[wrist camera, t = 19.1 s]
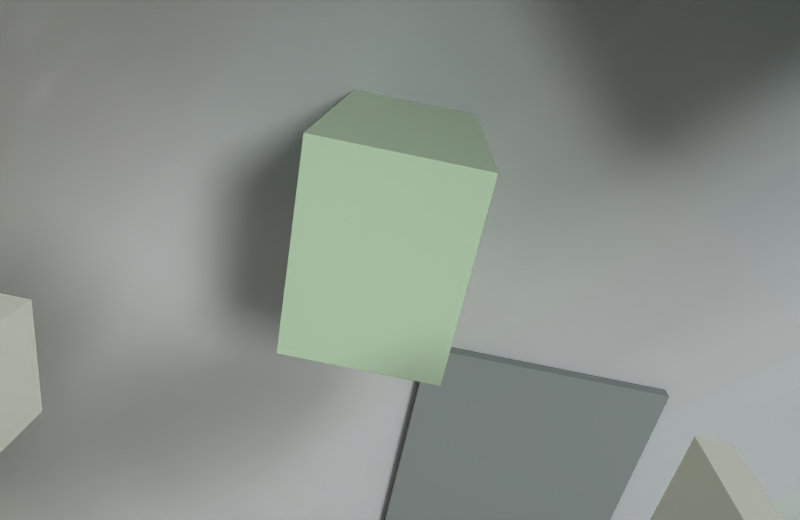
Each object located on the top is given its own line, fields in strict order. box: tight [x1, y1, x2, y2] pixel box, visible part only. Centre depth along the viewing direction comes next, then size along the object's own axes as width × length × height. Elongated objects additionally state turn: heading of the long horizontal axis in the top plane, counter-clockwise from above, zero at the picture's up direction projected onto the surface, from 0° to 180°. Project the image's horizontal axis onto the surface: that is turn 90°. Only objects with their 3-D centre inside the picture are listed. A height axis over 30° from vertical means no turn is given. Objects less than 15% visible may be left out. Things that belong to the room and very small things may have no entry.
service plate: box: [385, 347, 669, 520], centre depth 37 cm, size 24×14×1 cm, turn 169°
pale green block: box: [277, 90, 498, 386], centre depth 23 cm, size 8×6×11 cm
